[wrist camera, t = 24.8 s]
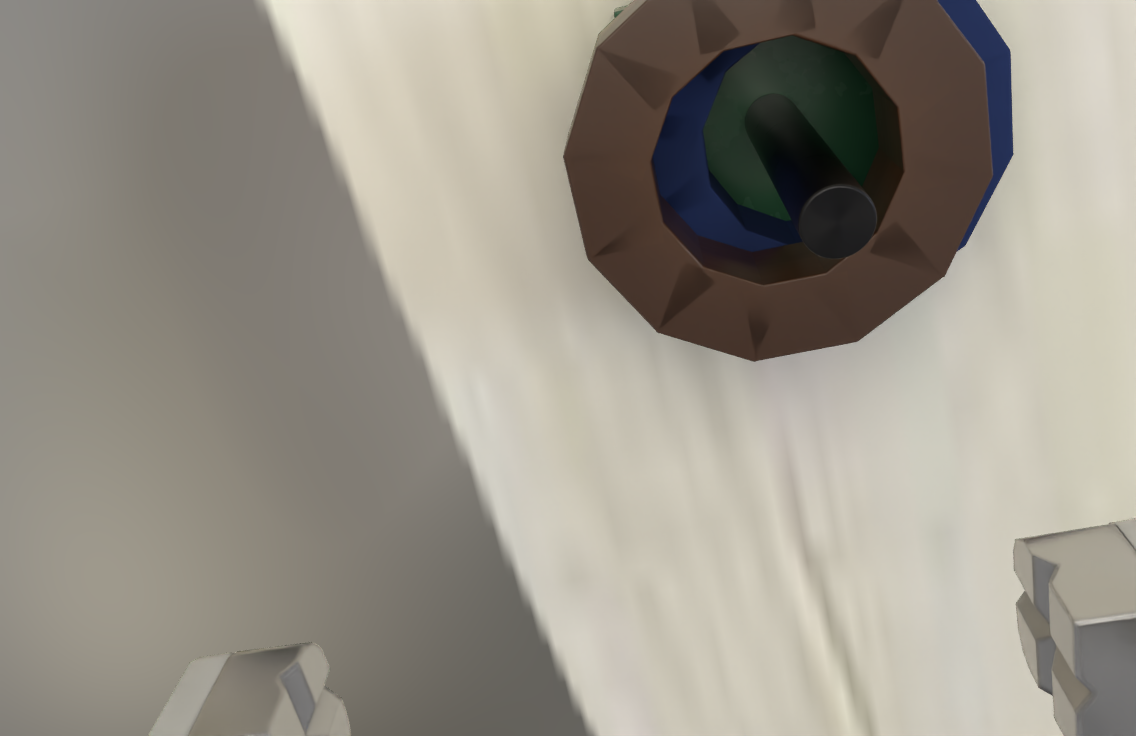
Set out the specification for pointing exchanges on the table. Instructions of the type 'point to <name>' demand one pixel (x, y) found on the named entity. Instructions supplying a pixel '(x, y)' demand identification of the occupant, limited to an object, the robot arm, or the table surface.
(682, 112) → the navy ring
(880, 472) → the table surface
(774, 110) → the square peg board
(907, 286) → the walnut ring
